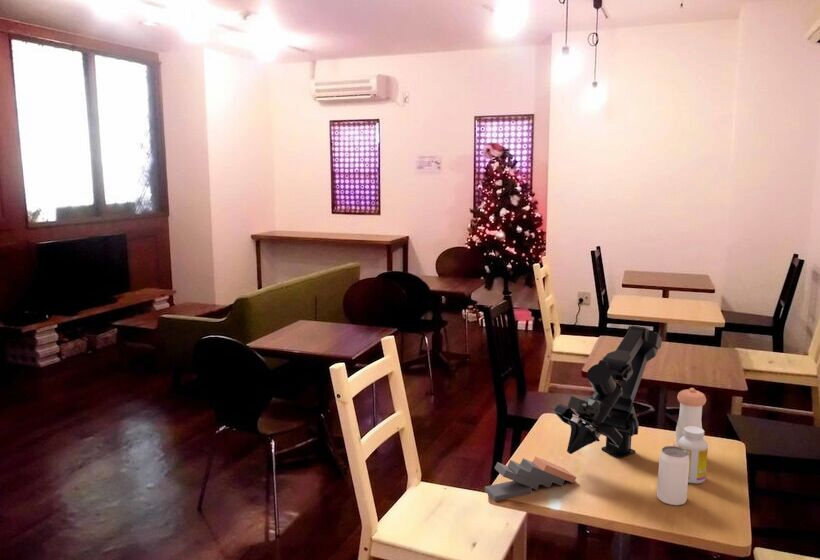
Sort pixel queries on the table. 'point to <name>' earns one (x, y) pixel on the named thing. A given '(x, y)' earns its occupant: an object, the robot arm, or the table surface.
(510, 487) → the domino
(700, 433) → the supplement bottle
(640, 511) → the table surface
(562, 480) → the domino
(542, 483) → the domino
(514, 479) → the domino
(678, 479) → the can
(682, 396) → the salt shaker
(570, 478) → the domino
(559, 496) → the table surface
